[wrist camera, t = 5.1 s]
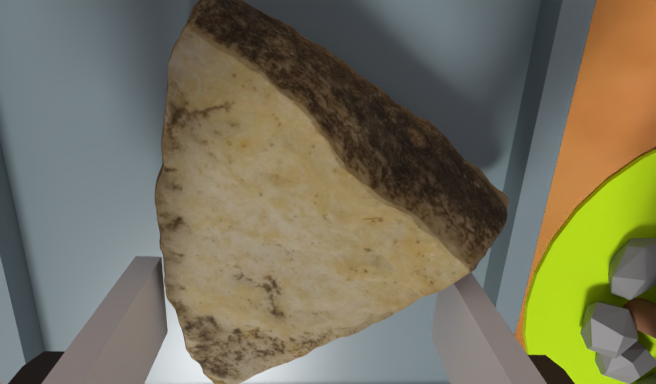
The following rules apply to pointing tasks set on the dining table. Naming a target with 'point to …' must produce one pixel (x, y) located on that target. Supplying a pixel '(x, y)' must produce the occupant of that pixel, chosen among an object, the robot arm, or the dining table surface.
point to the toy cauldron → (601, 284)
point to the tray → (146, 160)
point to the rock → (300, 196)
